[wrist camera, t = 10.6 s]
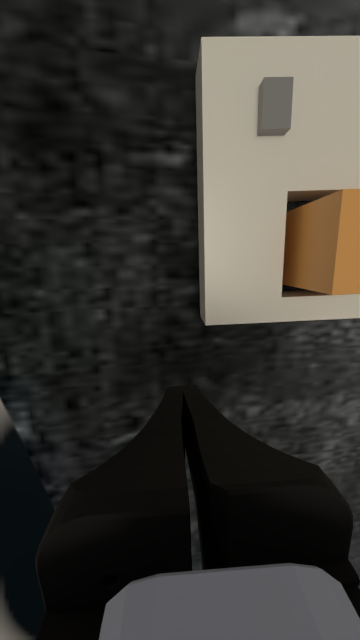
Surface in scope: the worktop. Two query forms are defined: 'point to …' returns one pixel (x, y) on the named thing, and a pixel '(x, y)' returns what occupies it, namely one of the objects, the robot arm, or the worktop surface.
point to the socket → (270, 166)
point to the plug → (324, 244)
